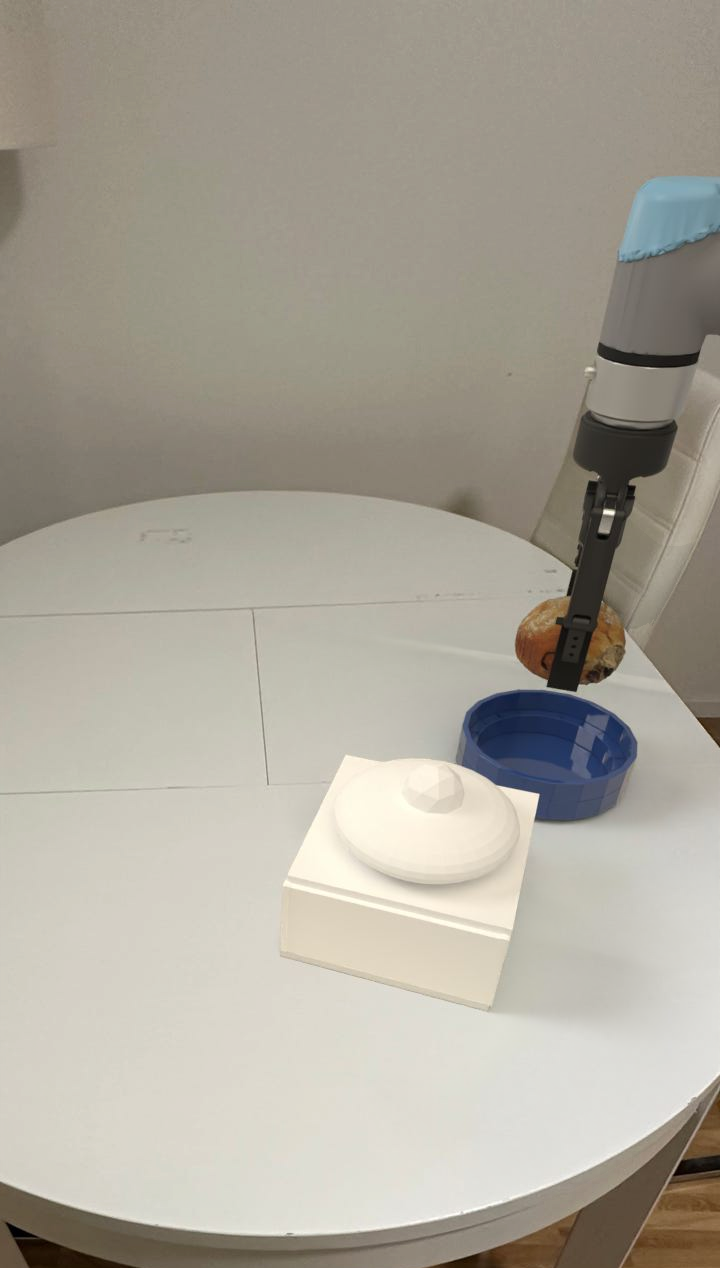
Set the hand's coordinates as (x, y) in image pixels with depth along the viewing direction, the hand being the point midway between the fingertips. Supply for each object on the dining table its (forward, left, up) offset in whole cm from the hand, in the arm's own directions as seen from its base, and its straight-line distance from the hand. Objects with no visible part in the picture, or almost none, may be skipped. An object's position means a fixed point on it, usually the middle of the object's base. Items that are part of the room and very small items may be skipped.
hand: (566, 659), depth 88 cm
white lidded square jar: (+9, +26, -13) cm, 30 cm away
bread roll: (0, 0, 0) cm, 0 cm away
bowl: (0, 0, -13) cm, 13 cm away
